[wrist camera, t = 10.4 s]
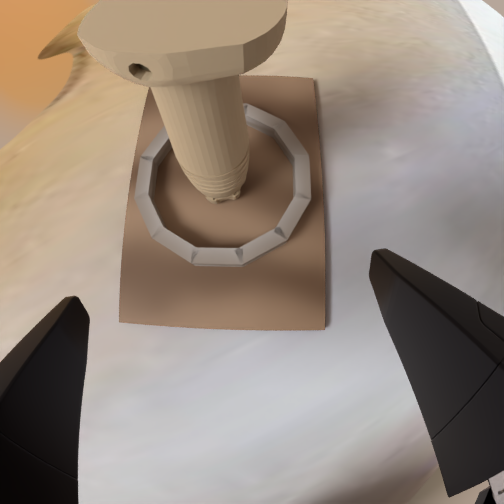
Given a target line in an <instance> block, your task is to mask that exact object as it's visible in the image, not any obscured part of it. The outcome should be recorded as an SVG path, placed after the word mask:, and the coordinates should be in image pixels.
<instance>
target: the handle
mask: <svg viewBox="0 0 504 504" xmlns="http://www.w3.org/2000/svg"><path fill="white" fill-rule="evenodd" d="M287 4H288V0H100V1H99V2H98V3H97V4H95V5H94V6H93V8H92V9H91V10H90V11H89V12H88V13H87V14H86V16H85V17H84V19H83V20H82V22H81V24H80V26H79V29H78V33H77V35H78V37H79V39H80V40H81V42H82V44H83V45H84V47H85V48H86V50H87V51H88V53H89V54H90V55H91V56H92V57H93V58H94V59H95V60H97V61H98V62H99V63H100V64H101V65H103V66H104V67H105V68H107V69H108V70H110V71H111V72H113V73H115V74H117V75H118V76H120V77H122V78H124V79H126V80H129V81H131V82H133V83H135V84H139V85H143V86H147V87H151V90H152V93H153V95H154V98H155V101H156V104H157V106H158V109H159V112H160V114H161V117H162V120H163V122H164V125H165V128H166V131H167V134H168V136H169V139H170V142H171V145H172V148H173V150H174V153H175V156H176V158H177V160H178V162H179V164H180V166H181V168H182V170H183V171H184V173H185V175H186V176H187V177H188V179H189V180H190V182H191V183H192V184H193V185H194V186H195V187H196V189H198V190H199V191H200V192H201V193H202V194H204V195H206V199H207V200H208V201H210V202H211V203H213V204H219V203H220V202H221V201H224V200H236V199H237V198H238V197H239V196H240V189H241V186H242V185H243V184H244V183H245V180H246V175H247V171H248V165H249V154H250V153H249V136H248V130H247V124H246V118H245V112H244V106H243V100H242V93H241V86H240V78H239V74H244V73H246V72H247V71H249V70H251V69H253V68H255V67H257V66H258V65H260V64H261V63H263V62H265V61H266V60H267V59H268V58H269V57H270V56H271V55H272V54H273V52H274V51H275V49H276V48H277V46H278V45H279V43H280V41H281V39H282V36H283V33H284V30H285V24H286V15H287Z"/></svg>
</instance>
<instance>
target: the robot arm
mask: <svg viewBox="0 0 504 504" xmlns="http://www.w3.org/2000/svg"><path fill="white" fill-rule="evenodd" d="M369 278H370V281H371V284H372V287H373V290H374V293H375V296H376V299H377V302H378V305H379V308H380V311H381V314H382V317H383V319H384V322H385V325H386V327H387V329H388V331H389V334H390V336H391V338H392V341H393V343H394V345H395V347H396V350H397V352H398V354H399V357H400V359H401V362H402V364H403V366H404V369H405V371H406V374H407V376H408V379H409V381H410V384H411V386H412V389H413V391H414V394H415V397H416V399H417V402H418V405H419V407H420V410H421V413H422V415H423V418H424V421H425V424H426V427H427V430H428V432H429V435H430V438H431V442H432V445H433V448H434V451H435V454H436V457H437V460H438V464H439V467H440V470H441V474H442V477H443V481H444V484H445V488H446V491H447V495H448V497H452V496H454V495H456V494H459V493H461V492H463V491H465V490H467V489H470V488H472V487H474V486H476V485H478V484H480V483H482V482H484V481H486V480H488V482H489V485H490V486H489V487H488V488H486V489H484V490H483V491H481V492H480V493H479V495H478V498H477V500H476V502H475V504H504V316H502V315H500V314H498V313H497V312H495V311H493V310H492V309H490V308H488V307H487V306H485V305H484V304H482V303H480V302H479V301H478V302H477V301H476V300H475V299H474V298H472V297H471V296H469V295H467V294H466V293H464V292H462V291H461V290H459V289H457V288H456V287H454V286H452V285H450V284H449V283H447V282H445V281H444V280H442V279H440V278H438V277H437V276H435V275H433V274H431V273H430V272H428V271H426V270H424V269H423V268H421V267H419V266H417V265H415V264H414V263H412V262H410V261H408V260H406V259H405V258H403V257H401V256H399V255H397V254H395V253H394V252H392V251H390V250H388V249H378V250H374V251H373V252H372V256H371V263H370V270H369ZM89 324H90V318H89V315H88V313H87V311H86V309H85V308H84V306H83V304H82V303H81V301H80V299H79V298H78V297H77V296H69V297H65V298H64V299H63V300H62V301H61V302H60V303H59V304H58V305H56V306H55V307H54V308H53V309H52V310H51V311H50V312H49V313H48V314H47V315H46V316H45V317H44V318H43V319H42V320H41V321H40V322H39V323H38V324H37V325H36V326H35V327H34V328H33V329H32V330H31V331H30V332H29V333H28V334H27V335H26V336H25V337H24V338H23V339H22V340H21V341H20V342H19V343H18V344H17V345H16V346H15V347H14V348H13V349H12V350H11V351H10V352H9V353H8V355H7V356H6V357H5V358H4V359H3V360H2V361H1V362H0V504H78V480H77V479H78V448H79V430H80V417H81V406H82V396H83V387H84V380H85V372H86V364H87V351H88V336H89Z"/></svg>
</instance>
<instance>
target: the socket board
mask: <svg viewBox="0 0 504 504" xmlns="http://www.w3.org/2000/svg"><path fill="white" fill-rule="evenodd" d="M239 78H240V86H241V93H242V100H243V106H244V112H245V118H246V124H247V130H248V136H249V153H250V154H249V165H248V171H247V175H246V180H245V183H244V184H243V185H242V186H241V189H240V196H239V197H238V198H237V199H236V200H224V201H221V202H220V203H219V204H213V203H211V202H210V201H208V200H207V199H206V195H204V194H202V193H201V192H200V191H199V190H198V189H196V187H195V186H194V185H193V184H192V183H191V182H190V180H189V179H188V177H187V176H186V175H185V173H184V171H183V170H182V168H181V166H180V164H179V162H178V160H177V158H176V156H175V153H174V150H173V148H172V145H171V142H170V139H169V136H168V134H167V131H166V128H165V125H164V122H163V120H162V117H161V114H160V112H159V109H158V106H157V104H156V101H155V98H154V95H153V93H152V90H151V87H149V90H148V94H147V98H146V102H145V107H144V111H143V116H142V120H141V125H140V130H139V135H138V140H137V145H136V150H135V156H134V162H133V168H132V174H131V180H130V187H129V194H128V202H127V210H126V218H125V227H124V237H123V249H122V262H121V278H120V300H119V322H123V323H133V324H144V325H157V326H170V327H186V328H205V329H230V330H325V230H324V204H323V185H322V168H321V154H320V142H319V130H318V119H317V109H316V100H315V91H314V82H313V78H301V77H284V76H239Z"/></svg>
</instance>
